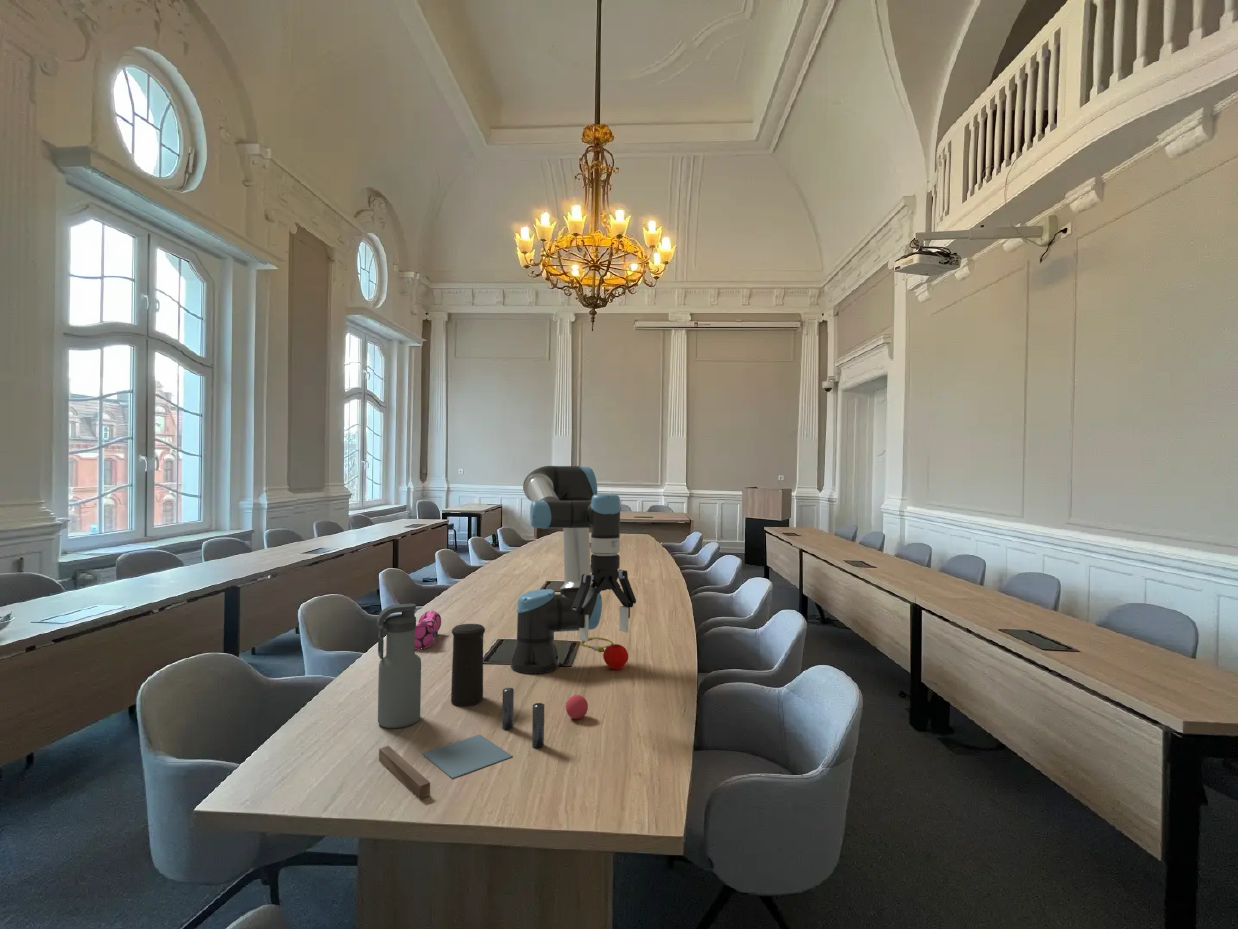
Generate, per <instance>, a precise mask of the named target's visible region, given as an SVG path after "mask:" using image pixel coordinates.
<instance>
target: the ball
mask: <svg viewBox="0 0 1238 929" xmlns="http://www.w3.org/2000/svg"><path fill="white" fill-rule="evenodd" d="M588 709H589V704H588V701H587V699H586V698H585V697H584V696H582V695H581V694H575V695H572V696H570V697H569V698H568V699H567V701H566V703H565V711H566V714H567V715H568V716H569V717H570V718H571V719H575V720H578V719H579V720H580V719H582V718H584V716H585V715H587V713H588Z"/></svg>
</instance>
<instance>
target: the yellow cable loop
mask: <svg viewBox="0 0 1238 929" xmlns="http://www.w3.org/2000/svg"><path fill="white" fill-rule="evenodd" d="M592 639H596V637H595V636H594V637H588V641H592ZM597 639H599V641H606V642H609V644H607V645H606V646H599V645H588V644H585V643H586V642H585V641H582V640H581V642H580V645H581V646H582V647H583V648H584V647H585V648H592V650H594V651H597V652H600V653H601V652H604V651H605V649H606V648H607V647H608V646H610V645H613V644H614V642H613V641H612V640H611V639H610V640H609V639H607V638H603V637H597Z"/></svg>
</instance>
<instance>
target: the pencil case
mask: <svg viewBox="0 0 1238 929" xmlns="http://www.w3.org/2000/svg"><path fill="white" fill-rule="evenodd" d="M417 623H418V624H417ZM417 623H416V630H415V650H417V649H421V648H425V649H427V648H429V647H431V646H432V645H433V643H434V640H435V638H436V637H438V636H439V633H438V632H439V631H440V629H441V626H442V617H441V615H440V614H439V613H438V612H437V611H434V610H431V611H430V610H429V611H426V612H424V613H422V614H421V616H420V617H419V619H418V622H417ZM421 650H422V649H421Z"/></svg>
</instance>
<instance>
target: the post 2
mask: <svg viewBox="0 0 1238 929" xmlns="http://www.w3.org/2000/svg"><path fill="white" fill-rule="evenodd" d="M531 731H532V734H531V735H532V736H531V737H532V738H531V739H532V740H531V747H532V748H533V749H537V750H540V749H542V748H544V746H545V704H544V703H542V702H538V703H534V704H532V730H531Z"/></svg>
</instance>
